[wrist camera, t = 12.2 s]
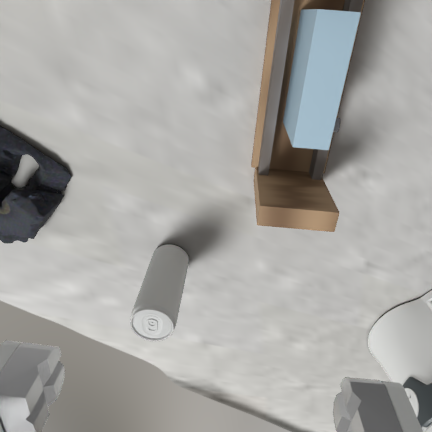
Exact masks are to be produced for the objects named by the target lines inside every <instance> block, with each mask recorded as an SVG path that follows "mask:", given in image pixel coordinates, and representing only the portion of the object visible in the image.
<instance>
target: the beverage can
mask: <svg viewBox="0 0 432 432" xmlns="http://www.w3.org/2000/svg"><path fill="white" fill-rule="evenodd" d="M188 263H189V258H188V255H187V253H186V252H185V251H184V250H183V249H182V248H180V247H178V246H176V245H162V246H160V247H158V248H157V249H156V250H155V251H154V253H153V256H152V258H151V261H150V264H149V267H148V269H147V272H146V275H145V278H144V280H143V283H142V286H141V289H140V291H139V294H138V297H137V300H136V302H135V305H134V308H133V311H132V314H131V322H130V324H131V328H132V330H133V331H134V332H135V333H136V334H137V335H138V336H139V337H141V338H143V339H146V340H150V341H160V340H164V339H166V338H168V337H169V336H171V334H172V333H173V330H174V328H175V326H176V322H177V317H178V312H179V307H180V303H181V298H182V293H183V288H184V283H185V278H186V273H187V268H188Z"/></svg>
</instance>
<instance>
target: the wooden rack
mask: <svg viewBox="0 0 432 432" xmlns="http://www.w3.org/2000/svg"><path fill="white" fill-rule="evenodd" d="M364 2H365V0H271V8H270V16H269V24H268V32H267V41H266V49H265V57H264V65H263V73H262V81H261V89H260V98H259V106H258V114H257V122H256V130H255V138H254V147H253V155H252V163H251V165H252V167H255V174H254V191H255V204H256V217H257V225H261V226H272V227H284V228H295V229H307V230H318V231H329V232H334V231H335V227H336V223H337V220H338V216H339V211H338V209H337V207H336V205H335V203H334V201H333V199H332V197H331V195H330V193H329V191H328V189H327V186H326V184H325V182H324V180H323V178H322V176H323V173H325V169H326V164H327V160H328V156H329V152H330V147H331V143H332V139H333V134H334V132H333V134H332V138H331V143H330V147H329V150H320V149H308V148H296V147H292V144H291V142H290V139H289V136H288V134H287V131H286V128H285V126H284V123H283V118H284V112H285V106H286V99H287V93H288V87H289V81H290V75H291V68H292V62H293V56H294V50H295V43H296V37H297V31H298V25H299V19H300V12H301V10H306V9H324V10H337V11H350V12H361V14H360V19H361V15H362V10H363V6H364ZM360 19H359V23H360ZM359 23H358V27H359ZM358 27H357V31H356V36H357V32H358ZM356 36H355V40H356ZM355 40H354V44H353V49H354V45H355ZM353 49H352V53H353ZM352 53H351V57H352ZM351 57H350V61H349V66H350V62H351ZM349 66H348V70H349ZM348 70H347V74H348ZM347 74H346V78H345V83H346V79H347ZM345 83H344V87H345ZM344 87H343V91H342V96H343V92H344ZM342 96H341V100H342ZM341 100H340V104H341ZM340 104H339V108H338V113H339V109H340ZM338 113H337V117H338ZM337 117H336V118H337Z"/></svg>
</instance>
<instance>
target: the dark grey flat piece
mask: <svg viewBox="0 0 432 432" xmlns="http://www.w3.org/2000/svg"><path fill="white" fill-rule="evenodd" d="M25 154H28V155H30V156H32V157H33V158H34V159H35V160H36V162H37V163H38V164H39V169H38V170H37V171H36V173H35V174H34V176H33V177H32V178H30V179H29V185H26V186H25V187H22V188H15V187H14V186H13V185H12V184H11V177H12V176H13V175H15V174H16V172H17V170H18V167H19V163H20V159H21V157H22V155H25ZM69 179H71V175H70V174H69V172H68V170H67V168H66V167H64V166H62V165H61V164H59V163H56V162H55V161H54V160H52V159H51V158H50V157H48V156H45V155H43V153H42V152H40V151H38V150H36V149H35V148H34V147H32V146H31V145H29V144H28V143H27V142H25V141H24V140H23V139H21V138H20V137H18V136H15V135H14V134H12V133H11V132H10V131H8V130H6V129H4V128H2V127H1V126H0V240H1V241H2V242H3V243H13V241H16V240H19V241H22V242H27V241H28V238H31V239H34V237H35V236H36V234H37V232H38V231H39V229H40V228H41V227H42V226H43V225H44V224H45V223H46V221H47V220H48V219H49V217H51V215H52V213H53V212H54V211H55V209H56V208H57V207H58V205H59V204H60V203H61V198H62V197H63V196H64V195H62V194H61V191H64V190H65V189H66V184H68V182H69ZM57 190H58V193H57Z"/></svg>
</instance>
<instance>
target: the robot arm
mask: <svg viewBox="0 0 432 432" xmlns="http://www.w3.org/2000/svg"><path fill="white" fill-rule="evenodd" d="M368 346H369V350H370V352H371V354H372V355H373V356H374V358H375V359H376V360H377V361H378V362H379V364H380V365H381V366H382V368H383V369H384V371H385V372H386V374H387V375H388V377H389V379H390V380H391V382H386V381H380V380H371V379H360V378H349V377H345V378H344V379H343V380H342V382H341V389H342V392H340V393H339V394H337V395H336V398H335V401H334V408H333V416H334V423H335V428H336V431H337V432H432V290H431V291H430V292H428V293H427V294H425V295H424V296H423V297H421V298H419V299H417V300H414V301H411V302H408V303H405V304H403V305H400V306H398V307H396V308H394V309H392V310H391V311H389V312H387V313H386V314H385V315H383V316H382V317H381V318H380V319H379V320H378V321H377V322H376V323H375V325H374V326H373V327H372V329H371V331H370V334H369V337H368ZM60 357H61V351H60V347H55V346H47V345H39V344H32V343H24V342H16V341H7V340H5V341H4V342H3V343H1V344H0V432H41V431H42V429H43V427H44V425H45V423H46V421H47V419H48V417H49V411H48V406H49V405H50V404H52V403H53V402H54V401H56V400H57V398H58V396H59V393H60V392H61V389H62V385H63V382H64V375H65V373H64V372H65V371H64V365H63V364H62V363H61V362H60V361H59V358H60Z"/></svg>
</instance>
